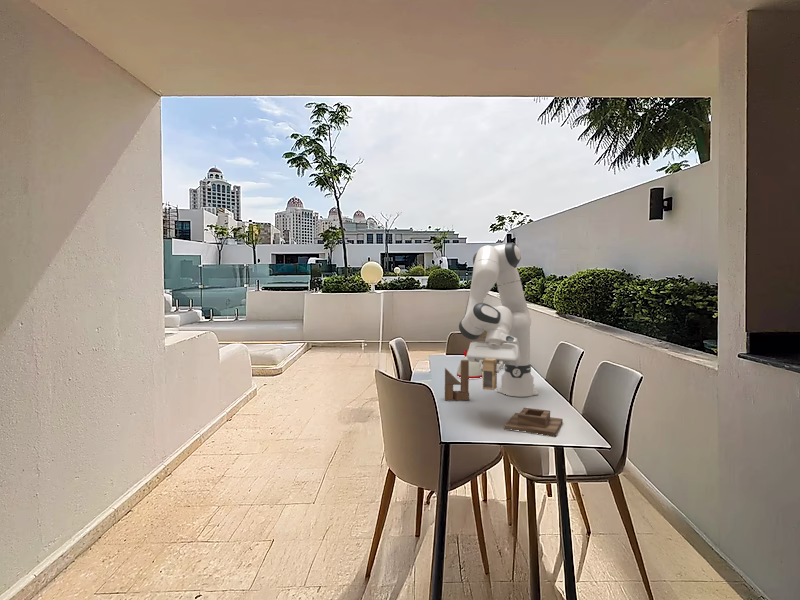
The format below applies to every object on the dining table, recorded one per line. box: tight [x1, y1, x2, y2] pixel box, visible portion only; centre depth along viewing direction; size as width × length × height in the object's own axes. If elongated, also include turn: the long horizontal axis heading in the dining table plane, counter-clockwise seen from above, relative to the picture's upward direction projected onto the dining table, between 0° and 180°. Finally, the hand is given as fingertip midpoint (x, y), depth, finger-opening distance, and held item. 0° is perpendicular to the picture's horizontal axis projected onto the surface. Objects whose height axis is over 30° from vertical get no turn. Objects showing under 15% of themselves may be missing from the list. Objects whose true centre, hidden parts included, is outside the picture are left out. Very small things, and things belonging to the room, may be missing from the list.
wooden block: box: [444, 359, 470, 401], centre depth 220 cm, size 4×11×18 cm, turn 90°
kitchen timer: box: [456, 349, 483, 379], centre depth 269 cm, size 14×14×15 cm
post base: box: [503, 407, 564, 437], centre depth 183 cm, size 18×18×5 cm
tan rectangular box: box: [482, 358, 498, 391], centre depth 184 cm, size 5×4×11 cm
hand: (489, 371), depth 184 cm, fingers closed on tan rectangular box, 4 cm apart
